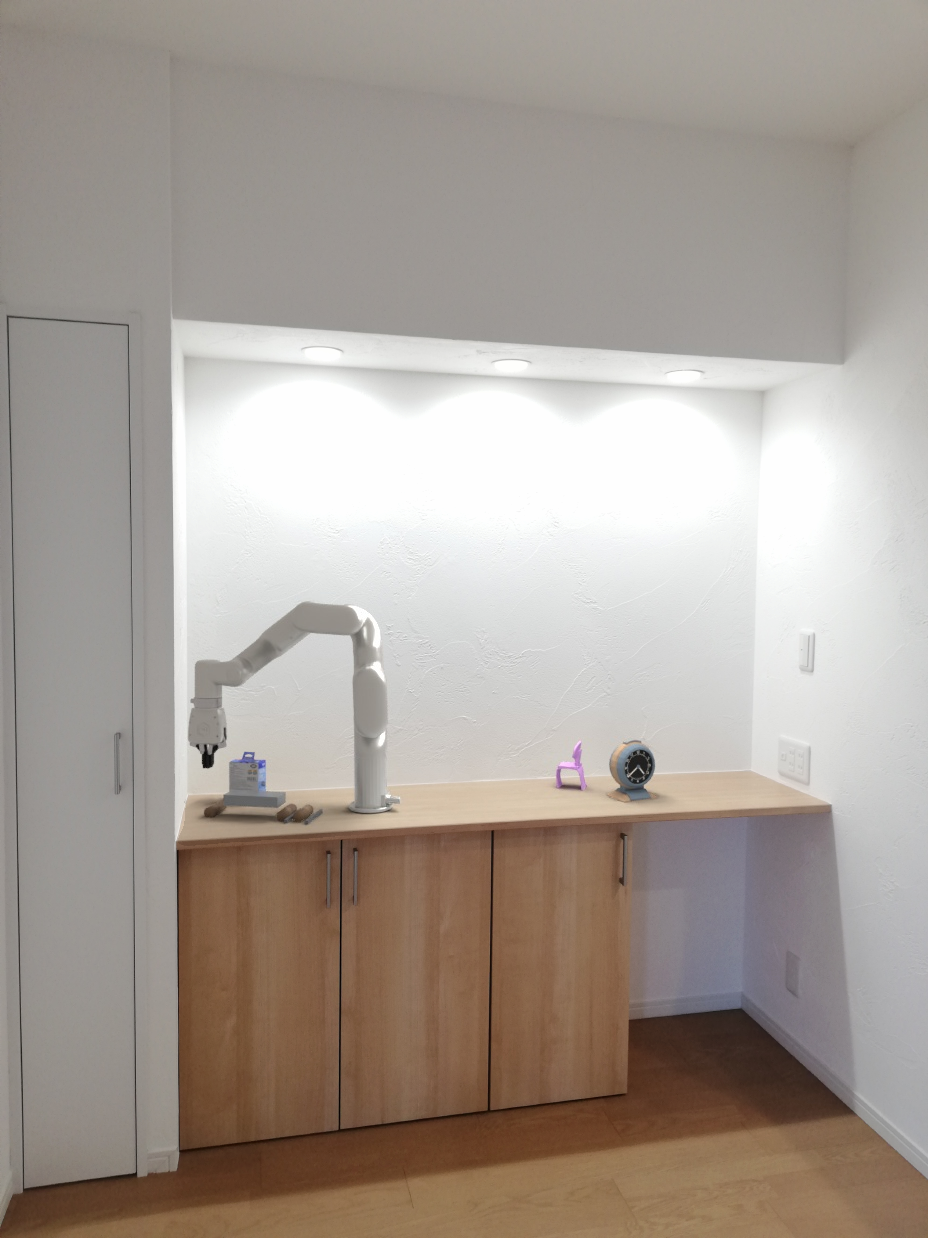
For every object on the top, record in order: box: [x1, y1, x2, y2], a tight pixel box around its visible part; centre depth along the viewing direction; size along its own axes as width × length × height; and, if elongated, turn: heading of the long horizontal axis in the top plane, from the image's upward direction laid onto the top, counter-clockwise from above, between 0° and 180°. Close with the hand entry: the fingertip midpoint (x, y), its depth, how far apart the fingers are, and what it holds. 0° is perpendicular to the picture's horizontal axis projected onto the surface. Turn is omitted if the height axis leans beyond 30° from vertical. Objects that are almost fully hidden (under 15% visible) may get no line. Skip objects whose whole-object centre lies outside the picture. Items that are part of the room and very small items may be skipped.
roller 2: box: [275, 803, 298, 822], centre depth 247 cm, size 3×8×3 cm, turn 170°
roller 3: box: [292, 803, 314, 823], centre depth 246 cm, size 8×3×3 cm, turn 170°
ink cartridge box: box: [228, 751, 267, 792], centre depth 265 cm, size 10×6×14 cm, turn 78°
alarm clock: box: [605, 738, 659, 803], centre depth 269 cm, size 14×10×18 cm
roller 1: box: [203, 800, 228, 818], centre depth 251 cm, size 3×8×3 cm
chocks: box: [283, 807, 324, 825], centre depth 246 cm, size 7×12×1 cm, turn 170°
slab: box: [222, 790, 287, 809], centre depth 248 cm, size 16×6×3 cm, turn 80°
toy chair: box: [555, 740, 587, 791], centre depth 282 cm, size 8×9×15 cm
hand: (207, 767), depth 250 cm, fingers closed
